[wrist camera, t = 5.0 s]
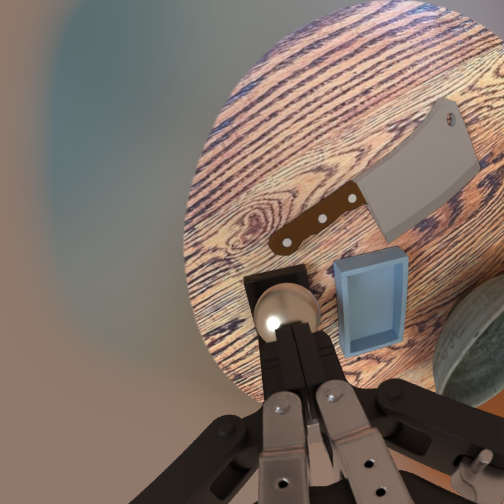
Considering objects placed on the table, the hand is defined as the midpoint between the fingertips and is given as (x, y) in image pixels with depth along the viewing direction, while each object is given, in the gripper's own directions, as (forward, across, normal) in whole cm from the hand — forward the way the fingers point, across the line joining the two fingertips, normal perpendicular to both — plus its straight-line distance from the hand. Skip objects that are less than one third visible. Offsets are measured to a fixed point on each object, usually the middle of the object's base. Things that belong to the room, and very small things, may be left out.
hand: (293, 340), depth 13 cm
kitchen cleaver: (+16, -12, -1) cm, 20 cm away
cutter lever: (+3, 0, +5) cm, 6 cm away
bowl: (+16, -26, +19) cm, 36 cm away
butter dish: (+16, -10, +11) cm, 21 cm away
